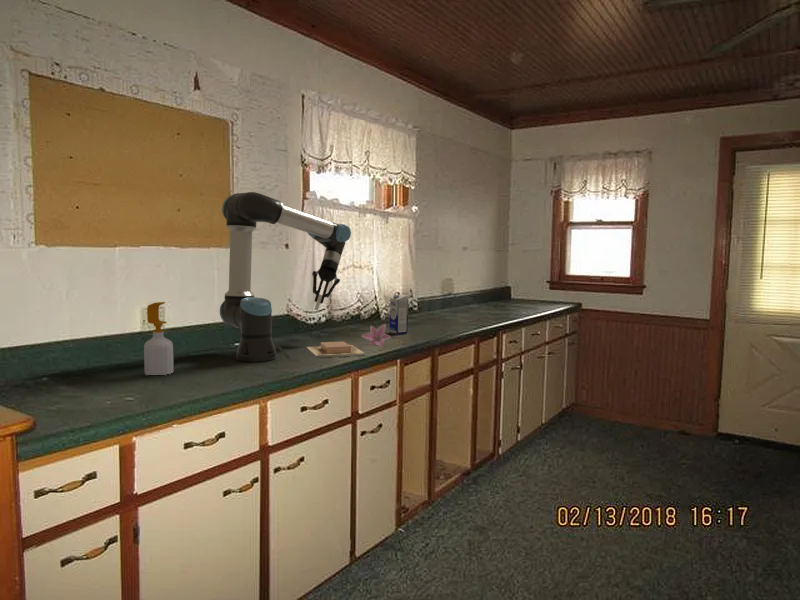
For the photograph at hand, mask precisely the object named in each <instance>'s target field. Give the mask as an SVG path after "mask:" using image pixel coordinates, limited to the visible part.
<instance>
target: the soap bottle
mask: <svg viewBox="0 0 800 600" xmlns="http://www.w3.org/2000/svg"><path fill="white" fill-rule="evenodd" d="M164 304H166V302H165V301H160V302H159V301H158V302H153V303H150V304H148V305H147V307H146V308H147V309H146V310H147V311H146V312H147V314H146V317H147V319H146V320H147V323H149V324H153V327H155V329H154V330H152V337H151V338H150V339H148V340H147V341H145V343H144V345H143V356H144V357H143V358H144V359H143V361H144V362H143V363H144V364H143V365H144V375H145V376H148V375H165V376H168V375H167V374H169V375H172V374H173V373H174V369H175V367H174V344H173V342H172V340H170V339H169V338H166V337H165V336H164V334H165V331H164V329H162V326H163V324H167V321H164V320H160V317H159V314H160V313H159V312H160V309H159V308H160V306H161V305H164ZM171 373H172V374H171Z"/></svg>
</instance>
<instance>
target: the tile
mask: <svg viewBox="0 0 800 600" xmlns="http://www.w3.org/2000/svg"><path fill="white" fill-rule="evenodd" d="M350 345H351V344H348V342H345V341H325V342H320V346H321V349H322V350H323V351H324V352H326V353H327V354H332V353H350V352H351V346H350Z"/></svg>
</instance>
